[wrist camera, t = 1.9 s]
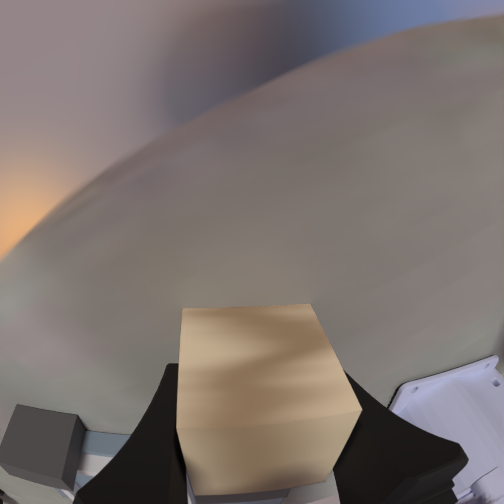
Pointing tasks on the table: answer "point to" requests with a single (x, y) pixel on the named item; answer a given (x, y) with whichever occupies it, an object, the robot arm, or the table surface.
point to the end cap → (0, 492)
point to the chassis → (80, 456)
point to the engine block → (260, 399)
